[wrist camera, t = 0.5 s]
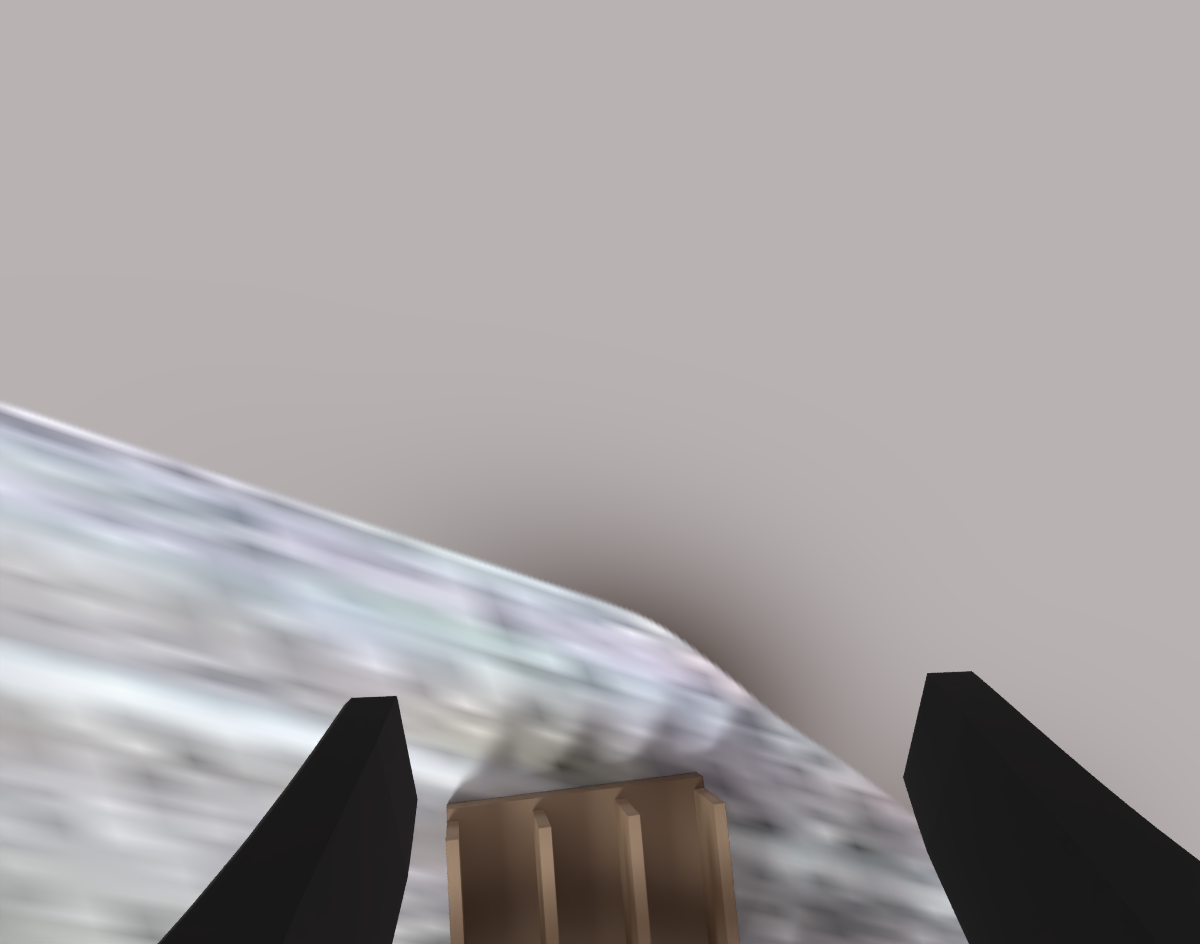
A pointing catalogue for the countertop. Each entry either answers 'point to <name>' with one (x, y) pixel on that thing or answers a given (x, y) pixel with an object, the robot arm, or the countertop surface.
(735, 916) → the rack
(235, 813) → the countertop surface
